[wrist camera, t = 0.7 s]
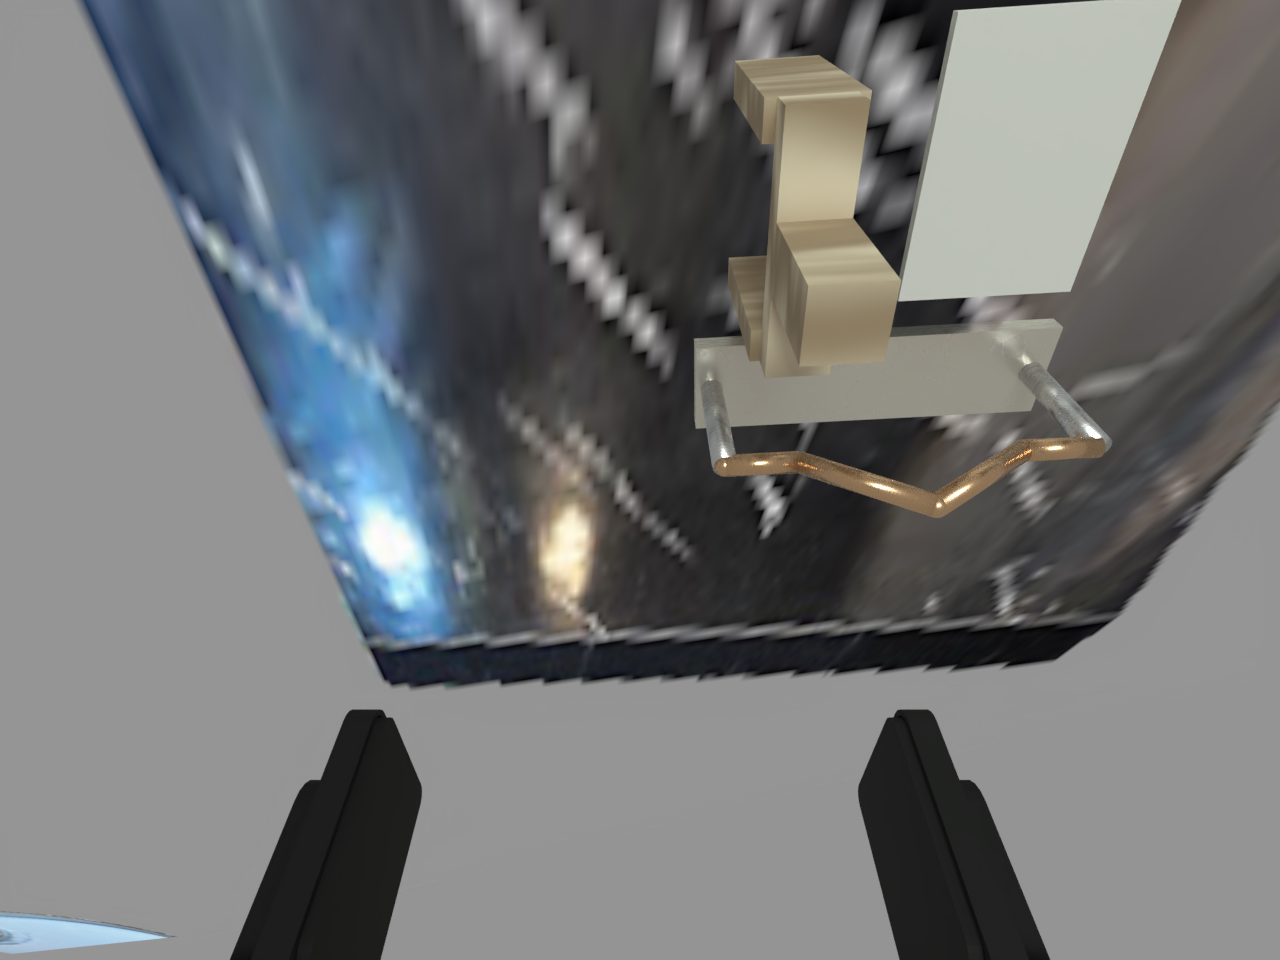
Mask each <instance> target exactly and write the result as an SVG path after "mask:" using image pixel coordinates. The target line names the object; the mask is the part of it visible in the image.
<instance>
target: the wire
mask: <svg viewBox="0 0 1280 960" xmlns="http://www.w3.org/2000/svg"><path fill="white" fill-rule="evenodd" d="M1062 330H1063V327H1062V326H1061V325H1060V324H1059V323H1058V322H1057V321H1056V320H1055V319H1054V318H1052V319H1034V320H1016V321H999V322H981V323H963V324H945V325H928V326H910V327H892V328H891V333H890V338H889V343H888V347H887V352H886V357H885V362H873V363H855V364H836V365H831V371H830V375H814V376H795V377H777V378H765V377H764V373H763V370H762V367H761V364H760V361H749V359H748V355H747V351H746V348H745V344H744V340H743V337H742V336H732V337H715V338H697V339H694V419H695V426H696V429H698V428H706V430H707V437H708V443H709V450H710V456H711V463H712V469H713V471H714V472H715V473H716V474H718V475H720V476H722V477H733V476H753V475H773V474H792V473H798V474H801V475H804V476H807V477H810V478H813V479H816V480H819V481H822V482H825V483H828V484H832V485H835V486H838V487H841V488H844V489H847V490H850V491H853V492H856V493H859V494H862V495H865V496H868V497H871V498H874V499H877V500H880V501H883V502H887V503H890V504H893V505H896V506H899V507H902V508H905V509H908V510H911V511H914V512H917V513H920V514H923V515H926V516H929V517H933V518H941V517H943V516H945V515H947V514H948V513H950V512H951V511H953V510H954V509H956V508H957V507H959V506H960V505H962V504H963V503H965V502H966V501H968V500H969V499H971V498H972V497H974V496H976V495H977V494H979V493H980V492H982V491H983V490H985V489H986V488H988V487H989V486H991V485H992V484H994V483H995V482H997V481H998V480H1000V479H1001V478H1003V477H1004V476H1006V475H1007V474H1009V473H1010V472H1012V471H1013V470H1015V469H1017V468H1018V467H1020V466H1021V465H1023V464H1024V463H1026V462H1029V461H1049V460H1069V459H1088V458H1100V457H1102V456H1103V455H1104V453H1105V452H1107V451H1108V450H1109V449H1110V447H1111V445H1112V440H1111V438H1110V437H1109V436H1108V435H1107V434H1106V433H1105V432H1104V431H1103V430H1102V429H1101V428H1100V427H1099V426H1098V425H1097V424H1096V423H1095V422H1094V420H1093V419H1092V418H1091V417H1090V416H1089V415H1088V414H1087V413H1086V412H1085V411H1084V410H1083V409H1082V408H1081V407H1080V406H1079V405H1078V404H1077V402H1076V401H1075V400H1074V399H1073V398H1072V397H1071V396H1070V395H1069V394H1068V393H1067V392H1066V391H1065V390H1064V389H1063V388H1062V387H1061V386H1060V384H1059V383H1058V382H1057V381H1056V380H1055V379H1054V378H1053V377H1052V376H1051V375H1050V374H1049V373H1048V372H1047V368H1048V366H1049V363H1050V360H1051V358H1052V355H1053V353H1054V350H1055V348H1056V345H1057V342H1058V340H1059V337H1060V335H1061V332H1062ZM1035 399H1037V400H1038V401H1039V402H1040V403H1041V404H1042V406H1043V407H1044V408H1045V409H1046V410H1047V411H1048V412H1049V414H1050V415H1051V416H1052V417H1053V418H1054V419H1055V421H1056V422H1057V423H1058V424H1059V425H1060V426H1061V427H1062V429H1063V430H1064V431H1065V432H1066V433H1067V434H1068V436H1069V437H1062V438H1043V439H1023V440H1018V441H1016V442H1014V443H1012V444H1011V445H1009V446H1008V447H1006V448H1004V449H1003V450H1001V451H1000V452H998V453H996V454H995V455H993V456H992V457H990V458H989V459H987V460H985V461H984V462H982V463H981V464H979V465H977V466H976V467H974V468H973V469H971V470H969V471H968V472H966V473H965V474H963V475H962V476H960V477H958V478H957V479H955V480H954V481H952V482H950V483H949V484H947V485H946V486H944V487H942V488H941V489H939V490H938V491H936V492H935V493H934V492H931V491H928V490H924V489H921V488H918V487H915V486H911V485H908V484H905V483H902V482H899V481H895V480H892V479H889V478H886V477H882V476H879V475H876V474H873V473H870V472H866V471H863V470H860V469H857V468H853V467H850V466H847V465H844V464H841V463H837V462H834V461H831V460H828V459H824V458H821V457H818V456H815V455H812V454H808V453H805V452H801V453H799V451H791V452H771V453H752V454H736V452H735V447H734V442H733V437H732V432H731V428H730V427H736V426H755V425H774V424H793V423H812V422H831V421H850V420H869V419H888V418H907V417H926V416H945V415H964V414H983V413H1002V412H1021V411H1031V409H1032V407H1033V404H1034V402H1035Z"/></svg>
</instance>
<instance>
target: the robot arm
mask: <svg viewBox="0 0 1280 960" xmlns="http://www.w3.org/2000/svg"><path fill="white" fill-rule="evenodd" d="M421 799H422V786H421V783H420V780H419V778H418V776H417V773H416V771H415V769H414V766H413V764H412V761H411V759H410V757H409V754H408V752H407V750H406V747H405V745H404V743H403V740H402V738H401V735H400V733H399V731H398V728H397V726H396V724H395V721H394V719H393V718H391V717H386V715H385V713H384V711H383V710H380V709H352V710H350V711H349V712H348V713H347V714H346V716H345V718H344V720H343V723H342V725H341V728H340V731H339V733H338V736H337V738H336V741H335V744H334V746H333V749H332V751H331V754H330V757H329V759H328V762H327V764H326V767H325V769H324V772H323V775H322V777H321V780H309V781H308V782H306V783H305V784H304V785H303V787H302V788H301V789H300V791H299V793H298V795H297V797H296V799H295V801H294V803H293V805H292V808H291V810H290V813H289V815H288V818H287V820H286V823H285V825H284V828H283V830H282V832H281V835H280V837H279V840H278V842H277V845H276V847H275V850H274V852H273V855H272V857H271V859H270V862H269V864H268V867H267V869H266V872H265V874H264V877H263V879H262V882H261V884H260V886H259V889H258V891H257V894H256V896H255V899H254V901H253V904H252V906H251V909H250V911H249V913H248V916H247V918H246V921H245V923H244V926H243V928H242V931H241V933H240V936H239V938H238V940H237V943H236V945H235V948H234V950H233V953H232V955H231V958H230V960H381V956H382V952H383V948H384V945H385V941H386V937H387V933H388V929H389V925H390V921H391V917H392V913H393V910H394V906H395V902H396V898H397V894H398V890H399V886H400V882H401V879H402V875H403V871H404V867H405V863H406V859H407V855H408V851H409V848H410V844H411V840H412V836H413V832H414V828H415V824H416V820H417V816H418V813H419V809H420V805H421ZM858 799H859V805H860V809H861V813H862V816H863V820H864V824H865V828H866V832H867V836H868V840H869V844H870V848H871V851H872V855H873V859H874V863H875V867H876V871H877V875H878V879H879V882H880V886H881V890H882V894H883V898H884V902H885V906H886V910H887V913H888V917H889V921H890V925H891V929H892V933H893V937H894V941H895V944H896V948H897V952H898V956H899V960H1050V958H1049V955H1048V953H1047V950H1046V948H1045V945H1044V943H1043V940H1042V938H1041V936H1040V933H1039V931H1038V928H1037V926H1036V923H1035V921H1034V918H1033V916H1032V913H1031V911H1030V909H1029V906H1028V904H1027V901H1026V899H1025V896H1024V894H1023V891H1022V889H1021V887H1020V884H1019V882H1018V879H1017V877H1016V874H1015V872H1014V869H1013V867H1012V865H1011V862H1010V860H1009V857H1008V855H1007V852H1006V850H1005V847H1004V845H1003V842H1002V840H1001V837H1000V835H999V832H998V830H997V828H996V825H995V823H994V820H993V818H992V816H991V813H990V810H989V808H988V805H987V803H986V801H985V799H984V797H983V795H982V793H981V791H980V789H979V788H978V787H977V785H976V784H975V783H974V782H972V781H971V780H959V777H958V775H957V772H956V769H955V767H954V764H953V762H952V759H951V757H950V754H949V751H948V749H947V746H946V744H945V741H944V738H943V736H942V733H941V731H940V728H939V725H938V723H937V720H936V718H935V716H934V714H933V713H932V712H931V711H930V710H928V709H900V710H897V711H896V713H895V715H894V717H889V718H887V719H886V721H885V724H884V726H883V728H882V731H881V733H880V735H879V738H878V740H877V743H876V745H875V747H874V750H873V752H872V754H871V757H870V759H869V761H868V764H867V766H866V769H865V771H864V773H863V776H862V778H861V781H860V783H859V786H858Z"/></svg>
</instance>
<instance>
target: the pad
mask: <svg viewBox="0 0 1280 960" xmlns="http://www.w3.org/2000/svg"><path fill="white" fill-rule="evenodd" d="M1180 3H1181V0H1100V1H1085V2H1071V3H1056V4H1042V5H1027V6H1012V7H998V8H983V9H969V10H954V11H953V15H952V20H951V25H950V30H949V35H948V39H947V44H946V49H945V54H944V59H943V64H942V69H941V74H940V79H939V84H938V89H937V94H936V98H935V103H934V108H933V113H932V118H931V123H930V128H929V133H928V138H927V143H926V148H925V152H924V157H923V162H922V167H921V172H920V177H919V182H918V187H917V192H916V197H915V202H914V207H913V211H912V216H911V221H910V226H909V231H908V236H907V241H906V246H905V251H904V256H903V261H902V265H901V270H900V275H899V278H900V279H901V284H900V289H899V294H898V299H897V300H898V301H915V300H932V299H949V298H967V297H984V296H1002V295H1019V294H1037V293H1054V292H1070V291H1071V288H1072V286H1073V283H1074V281H1075V278H1076V275H1077V273H1078V270H1079V267H1080V265H1081V262H1082V260H1083V257H1084V254H1085V252H1086V249H1087V247H1088V244H1089V241H1090V239H1091V236H1092V233H1093V231H1094V228H1095V226H1096V223H1097V220H1098V218H1099V215H1100V212H1101V210H1102V207H1103V205H1104V202H1105V199H1106V197H1107V194H1108V192H1109V189H1110V186H1111V184H1112V181H1113V178H1114V176H1115V173H1116V171H1117V168H1118V165H1119V163H1120V160H1121V157H1122V155H1123V152H1124V150H1125V147H1126V144H1127V142H1128V139H1129V137H1130V134H1131V131H1132V129H1133V126H1134V123H1135V121H1136V118H1137V116H1138V113H1139V110H1140V108H1141V105H1142V103H1143V100H1144V97H1145V95H1146V92H1147V89H1148V87H1149V84H1150V82H1151V79H1152V76H1153V74H1154V71H1155V68H1156V66H1157V63H1158V61H1159V58H1160V55H1161V53H1162V50H1163V48H1164V45H1165V42H1166V40H1167V37H1168V34H1169V32H1170V29H1171V27H1172V24H1173V21H1174V19H1175V16H1176V13H1177V11H1178V8H1179V6H1180Z"/></svg>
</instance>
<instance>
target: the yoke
mask: <svg viewBox="0 0 1280 960" xmlns="http://www.w3.org/2000/svg"><path fill="white" fill-rule="evenodd" d="M871 95H872V90H871V89H869V88H868V87H866V86H865V85H863V84H862V83H860V82H859V81H857V80H856V79H854V78H853V77H851V76H850V75H848V74H847V73H845V72H844V71H842V70H841V69H839V68H838V67H836V66H835V65H833V64H831V63H830V62H828V61H827V60H825V59H824V58H822V57H821V56H819V55H814V56H799V57H784V58H769V59H754V60H740V61H735V74H734V100H735V102H736V103H737V105H738V107H739V108H740V110H741V111H742V113H743V115H744V116H745V118H746V120H747V121H748V123H749V124H750V126H751V128H752V129H753V131H754V133H755V134H756V136H757V137H758V139H759V141H760V142H761V144H774V143H775V145H774V160H773V174H772V189H771V203H770V218H769V232H768V247H767V255H765V256H749V257H732V258H729V268H728V286H729V290H730V294H731V297H732V301H733V304H734V308H735V312H736V315H737V319H738V322H739V326H740V330H741V333H742V337H743V340H744V344H745V348H746V351H747V355H748V359H749V361H760V364H761V367H762V370H763V373H764V377H765V378H777V377H795V376H814V375H830V371H831V365H836V364H855V363H873V362H885V357H886V352H887V347H888V343H889V338H890V333H891V328H892V323H893V318H894V313H895V309H896V304H897V299H898V294H899V289H900V284H901V279H900V278H899V277H898V275H897V274H896V273H895V271H894V270H893V269H892V268H891V266H890V265H889V264H888V262H887V261H886V260H885V259H884V257H883V256H882V255H881V253H880V252H879V251H878V250H877V248H876V247H875V246H874V244H873V243H872V242H871V240H870V239H869V238H868V237H867V235H866V234H865V233H864V231H863V230H862V229H861V228H860V226H859V225H858V224H857V222H856V221H855V220H854V219H853V216H854V209H855V202H856V196H857V189H858V182H859V175H860V169H861V162H862V155H863V148H864V142H865V135H866V129H867V122H868V115H869V108H870V102H871Z"/></svg>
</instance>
